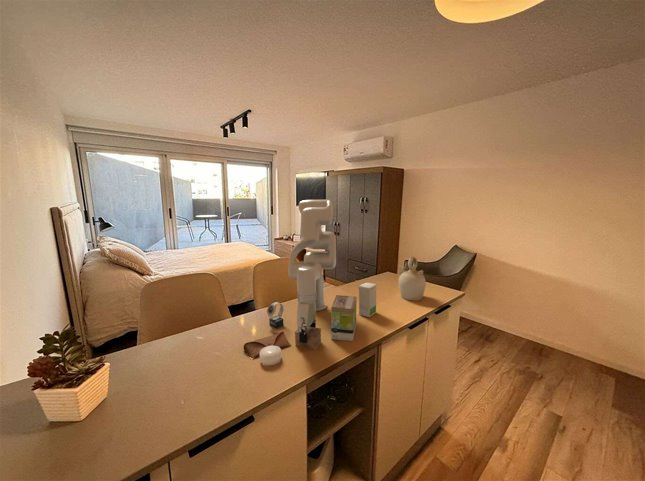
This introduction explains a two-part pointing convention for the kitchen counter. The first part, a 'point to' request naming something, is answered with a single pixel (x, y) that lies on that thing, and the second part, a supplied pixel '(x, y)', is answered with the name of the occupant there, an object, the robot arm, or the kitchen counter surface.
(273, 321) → the watch
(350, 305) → the tea box
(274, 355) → the cream white dome
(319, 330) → the walnut box
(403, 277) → the jug
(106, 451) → the kitchen counter surface
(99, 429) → the kitchen counter surface
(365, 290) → the skincare box
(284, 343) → the sunglasses case
